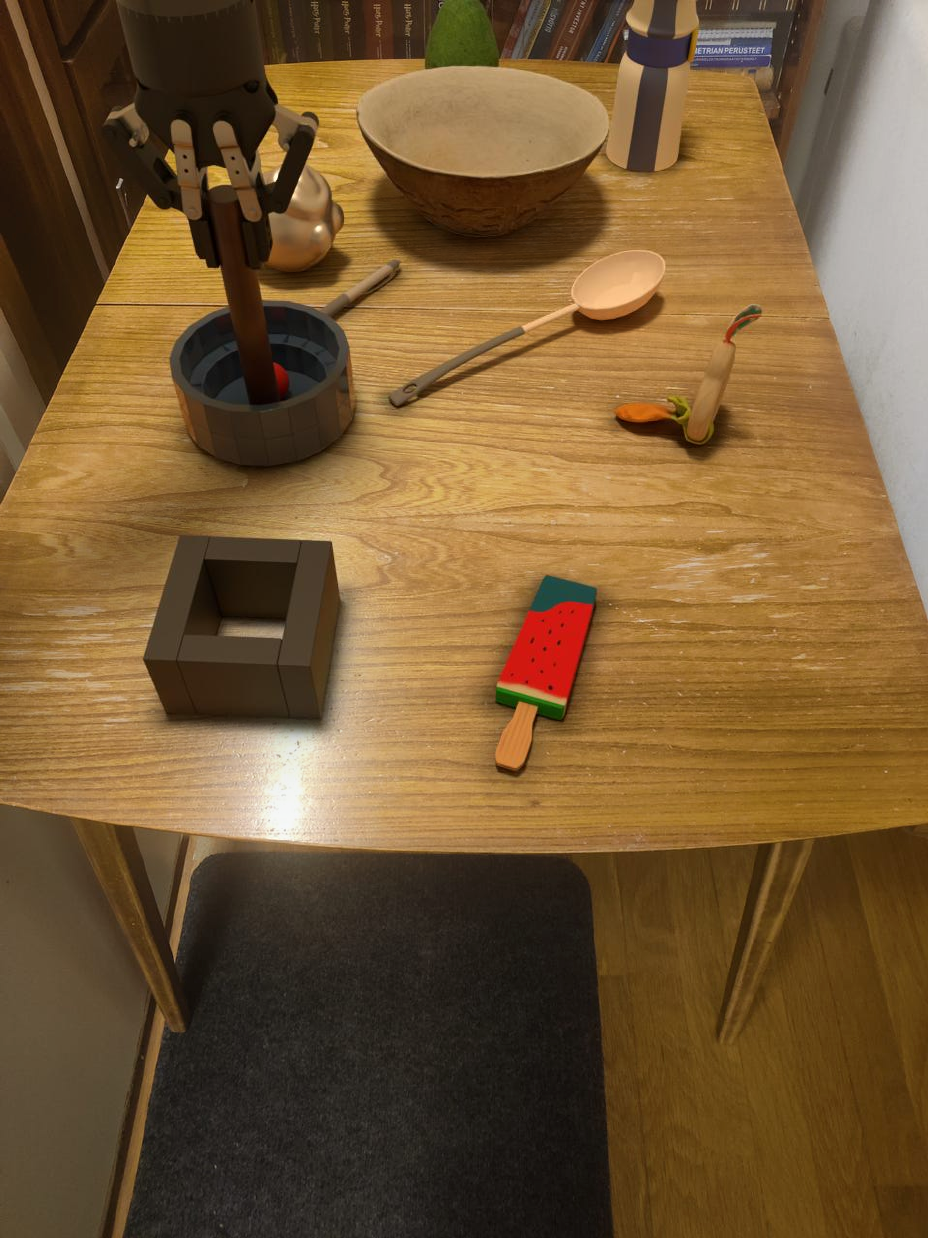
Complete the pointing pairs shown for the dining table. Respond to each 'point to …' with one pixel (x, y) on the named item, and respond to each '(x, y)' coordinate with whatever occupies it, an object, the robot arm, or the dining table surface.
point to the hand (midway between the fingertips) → (237, 261)
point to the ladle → (574, 305)
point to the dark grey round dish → (274, 429)
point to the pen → (362, 287)
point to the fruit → (461, 37)
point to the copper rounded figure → (304, 223)
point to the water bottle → (653, 84)
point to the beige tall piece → (709, 393)
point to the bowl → (482, 143)
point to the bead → (281, 380)
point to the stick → (242, 296)
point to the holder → (245, 666)
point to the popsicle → (543, 663)
